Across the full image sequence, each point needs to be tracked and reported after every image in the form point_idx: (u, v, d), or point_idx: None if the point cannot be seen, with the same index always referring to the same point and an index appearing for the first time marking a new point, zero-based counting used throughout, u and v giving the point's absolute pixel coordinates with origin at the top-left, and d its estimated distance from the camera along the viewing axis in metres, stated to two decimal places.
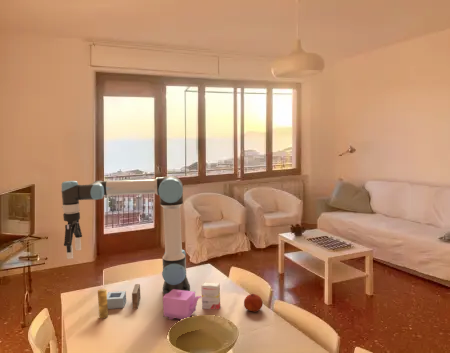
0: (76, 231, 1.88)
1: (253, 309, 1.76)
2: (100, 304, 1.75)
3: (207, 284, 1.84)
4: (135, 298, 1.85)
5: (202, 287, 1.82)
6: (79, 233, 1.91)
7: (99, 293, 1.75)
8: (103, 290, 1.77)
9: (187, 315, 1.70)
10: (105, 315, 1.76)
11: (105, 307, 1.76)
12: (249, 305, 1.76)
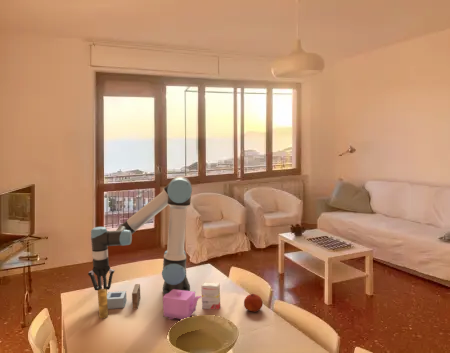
0: None
1: (253, 309, 1.76)
2: (100, 304, 1.75)
3: (207, 284, 1.84)
4: (135, 298, 1.85)
5: (202, 287, 1.82)
6: (104, 286, 1.87)
7: (99, 293, 1.75)
8: (103, 290, 1.77)
9: (187, 315, 1.70)
10: (105, 315, 1.76)
11: (105, 307, 1.76)
12: (249, 305, 1.76)
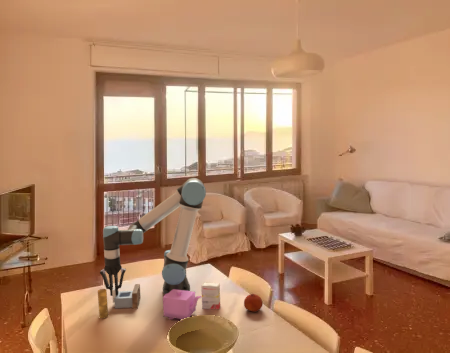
0: None
1: (253, 309, 1.76)
2: (100, 304, 1.75)
3: (207, 284, 1.84)
4: (135, 298, 1.85)
5: (202, 287, 1.82)
6: (116, 284, 1.88)
7: (99, 293, 1.75)
8: (103, 290, 1.77)
9: (187, 315, 1.70)
10: (105, 315, 1.76)
11: (105, 307, 1.76)
12: (249, 305, 1.76)
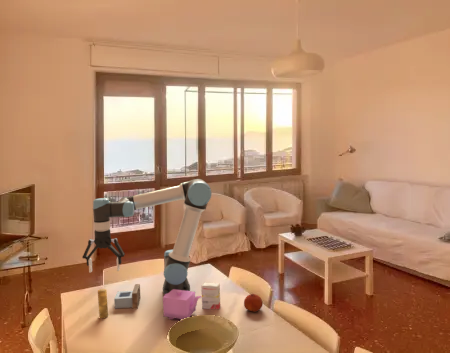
0: None
1: (253, 309, 1.76)
2: (100, 304, 1.75)
3: (207, 284, 1.84)
4: (135, 298, 1.85)
5: (202, 287, 1.82)
6: (116, 254, 1.84)
7: (99, 293, 1.75)
8: (103, 290, 1.77)
9: (187, 315, 1.70)
10: (105, 315, 1.76)
11: (105, 307, 1.76)
12: (249, 305, 1.76)
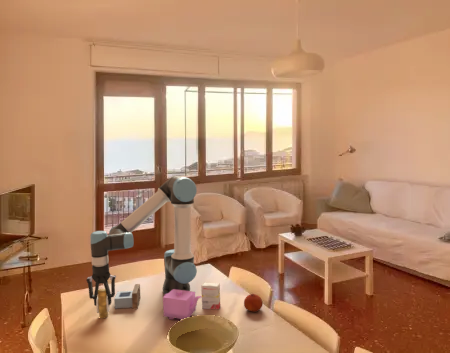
0: None
1: (253, 309, 1.76)
2: (100, 304, 1.75)
3: (207, 284, 1.84)
4: (135, 298, 1.85)
5: (202, 287, 1.82)
6: (108, 293, 1.76)
7: (99, 293, 1.75)
8: (103, 290, 1.77)
9: (187, 315, 1.70)
10: (105, 315, 1.76)
11: (105, 307, 1.76)
12: (249, 305, 1.76)
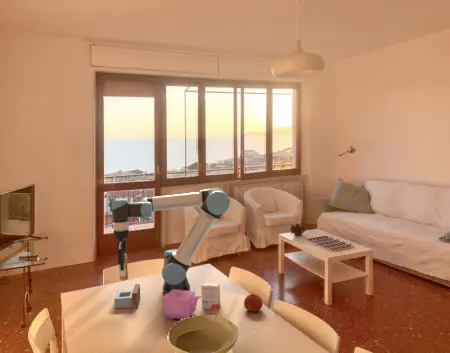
0: (124, 250, 1.89)
1: (253, 309, 1.76)
2: (126, 266, 1.88)
3: (207, 284, 1.84)
4: (135, 298, 1.85)
5: (202, 287, 1.82)
6: None
7: (125, 256, 1.87)
8: None
9: (187, 315, 1.70)
10: None
11: None
12: (249, 305, 1.76)
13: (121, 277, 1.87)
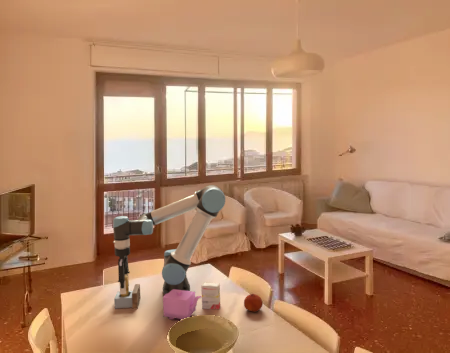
0: None
1: (253, 309, 1.76)
2: (127, 288, 1.89)
3: (207, 284, 1.84)
4: (135, 298, 1.85)
5: (202, 287, 1.82)
6: (127, 269, 1.94)
7: (127, 278, 1.89)
8: None
9: (187, 315, 1.70)
10: None
11: None
12: (249, 305, 1.76)
13: None
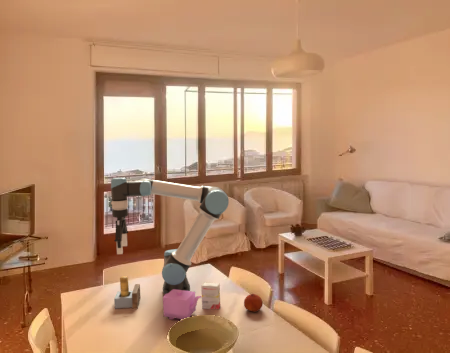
0: (123, 227, 1.91)
1: (253, 309, 1.76)
2: (127, 289, 1.89)
3: (207, 284, 1.84)
4: (135, 298, 1.85)
5: (202, 287, 1.82)
6: (125, 229, 1.93)
7: (127, 279, 1.89)
8: (124, 277, 1.90)
9: (187, 315, 1.70)
10: None
11: None
12: (249, 305, 1.76)
13: None
